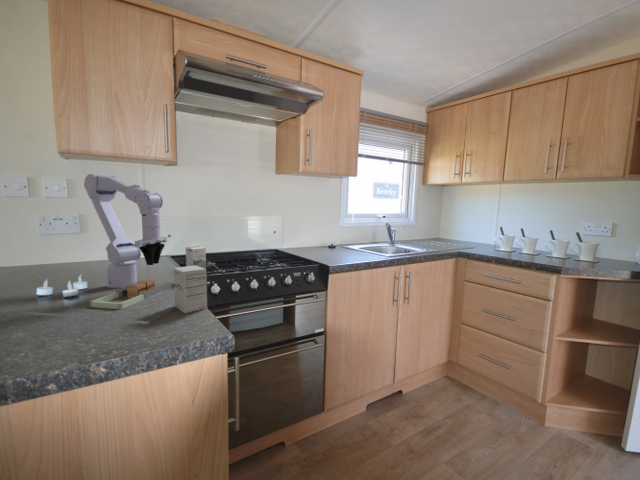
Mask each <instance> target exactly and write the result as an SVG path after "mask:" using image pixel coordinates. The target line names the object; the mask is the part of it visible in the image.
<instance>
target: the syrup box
mask: <svg viewBox="0 0 640 480" xmlns="http://www.w3.org/2000/svg"><path fill="white" fill-rule="evenodd" d="M206 255H207V253H206V247H204V246H201V245H198V246H188V247H185V267H186V266H195V265H196V266H199V267H202V268H204V269H206V270H207V268H206V267H207V262H206V260H207V257H206Z"/></svg>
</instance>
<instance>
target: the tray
mask: <svg viewBox="0 0 640 480" xmlns="http://www.w3.org/2000/svg"><path fill="white" fill-rule="evenodd" d="M118 298H120V297H119V295H118V292H116V293H115V292H113V293H110V294H108V295H104V296H101V297H98V298H96V299H92V300H89V301H88V302H89V303H88V304H89V308H96V309H97V308H99V309H111V310H112V309H113V310H122V309H123V310H124V309H125V308H127V307H129V306H131V305H134V304H137V303H139V302H142V301H144V300H146V299H145V294H141V295H139V296H136V297H134V298H127V300H124V301H122V302H114V301H113V300H115V299H118ZM112 301H113V302H112Z"/></svg>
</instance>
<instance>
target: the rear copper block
mask: <svg viewBox="0 0 640 480" xmlns="http://www.w3.org/2000/svg"><path fill="white" fill-rule="evenodd" d="M137 282H138V283H146V289H149V288H151V287H154V286H156V280H155V279H146V278H145V279H142V280H139V281H138V280H137Z"/></svg>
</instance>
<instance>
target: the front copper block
mask: <svg viewBox="0 0 640 480" xmlns="http://www.w3.org/2000/svg"><path fill="white" fill-rule="evenodd" d="M143 290H146V283H138V281H137V282H135V283H132V284H129V285H127V296H128V297H136V296H139V292H141V291H143Z"/></svg>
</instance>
